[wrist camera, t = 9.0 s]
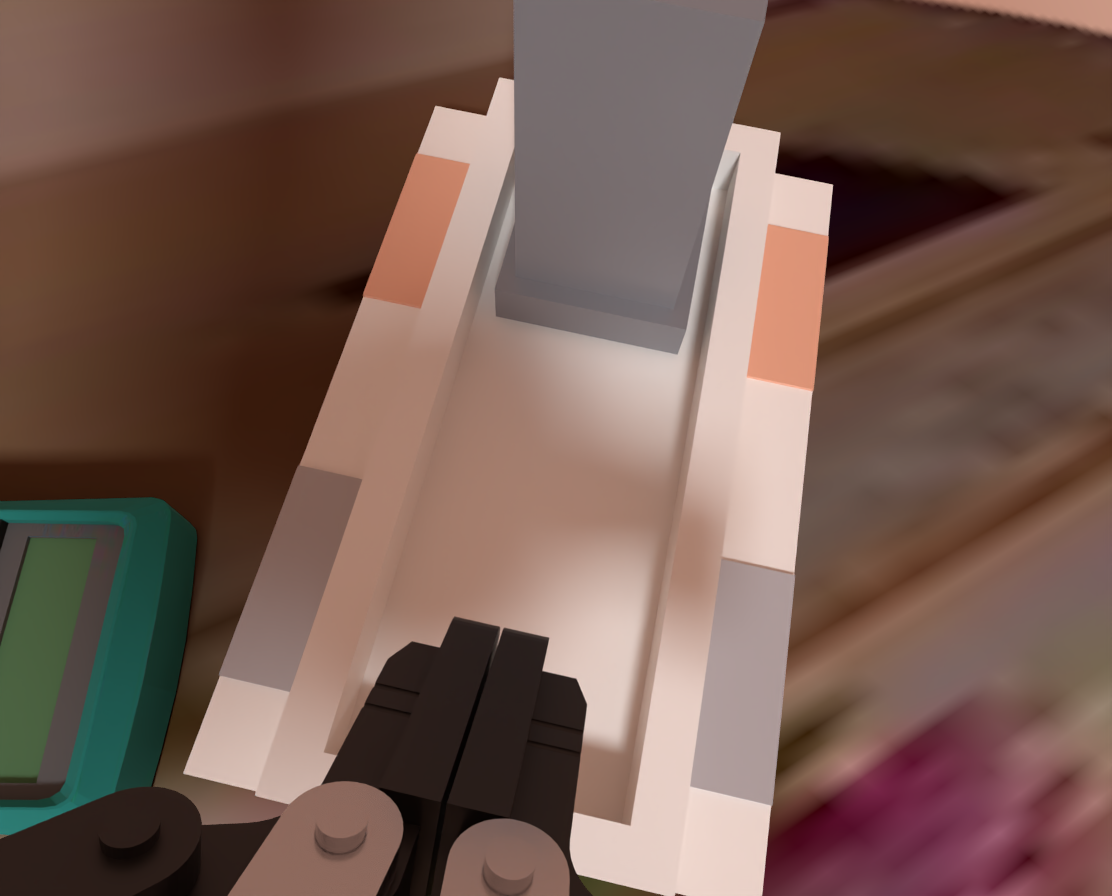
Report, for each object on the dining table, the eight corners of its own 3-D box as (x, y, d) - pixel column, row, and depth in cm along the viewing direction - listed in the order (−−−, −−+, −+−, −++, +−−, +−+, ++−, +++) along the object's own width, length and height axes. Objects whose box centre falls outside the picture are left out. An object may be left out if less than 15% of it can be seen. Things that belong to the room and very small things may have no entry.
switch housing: (216, 776, 18) (152, 771, 15) (441, 154, 26) (430, 64, 23) (735, 902, 18) (782, 923, 15) (810, 229, 25) (851, 146, 22)
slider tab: (495, 316, 21) (480, -10, 13) (538, 171, 23) (550, -195, 15) (677, 354, 21) (786, 48, 12) (704, 204, 23) (815, -147, 14)
